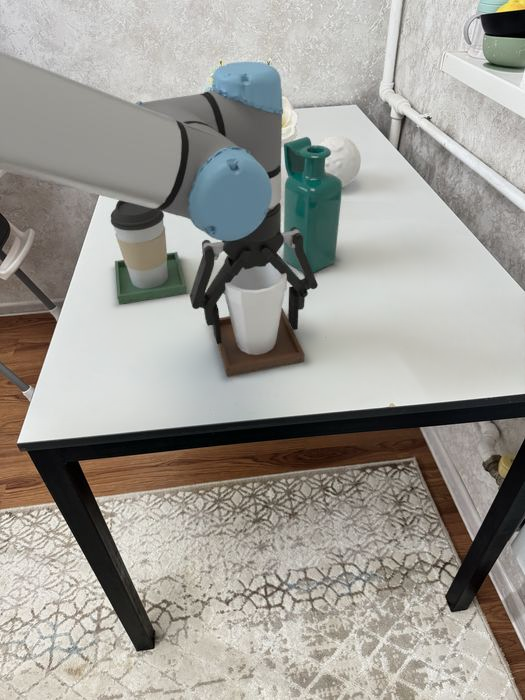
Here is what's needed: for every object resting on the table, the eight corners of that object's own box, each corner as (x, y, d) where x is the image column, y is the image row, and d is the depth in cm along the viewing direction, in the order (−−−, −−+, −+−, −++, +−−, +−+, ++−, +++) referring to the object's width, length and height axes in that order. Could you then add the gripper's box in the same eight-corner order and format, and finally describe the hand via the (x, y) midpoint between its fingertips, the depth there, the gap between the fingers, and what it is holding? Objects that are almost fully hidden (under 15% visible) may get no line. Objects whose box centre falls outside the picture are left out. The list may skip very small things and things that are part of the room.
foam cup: (288, 325, 82) (290, 258, 73) (281, 363, 75) (282, 294, 66) (232, 320, 83) (227, 254, 74) (221, 358, 76) (214, 289, 67)
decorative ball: (305, 194, 119) (308, 144, 111) (313, 175, 128) (316, 127, 120) (355, 199, 117) (361, 148, 109) (359, 178, 126) (365, 130, 117)
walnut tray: (227, 376, 74) (226, 368, 73) (212, 327, 83) (211, 319, 81) (303, 361, 76) (304, 353, 75) (281, 314, 85) (281, 307, 84)
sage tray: (119, 304, 88) (117, 296, 87) (116, 268, 96) (114, 260, 95) (186, 293, 90) (185, 285, 89) (178, 259, 99) (177, 251, 97)
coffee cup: (183, 273, 94) (172, 199, 84) (151, 297, 88) (135, 221, 78) (148, 260, 97) (133, 188, 87) (115, 282, 92) (95, 208, 82)
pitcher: (339, 262, 97) (351, 149, 82) (307, 277, 93) (313, 161, 78) (306, 242, 103) (312, 133, 88) (275, 255, 99) (275, 144, 84)
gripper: (329, 179, 68) (319, 305, 82) (155, 201, 63) (177, 329, 78) (349, 202, 62) (335, 332, 77) (161, 228, 58) (183, 361, 73)
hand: (255, 331), depth 78 cm, fingers open, 12 cm apart
